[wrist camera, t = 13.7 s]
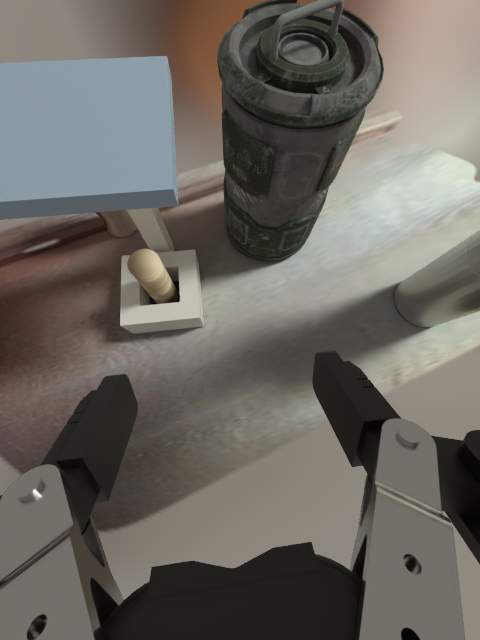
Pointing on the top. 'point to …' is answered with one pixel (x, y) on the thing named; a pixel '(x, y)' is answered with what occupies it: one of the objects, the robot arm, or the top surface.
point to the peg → (153, 276)
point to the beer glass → (118, 222)
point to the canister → (290, 116)
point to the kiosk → (99, 162)
